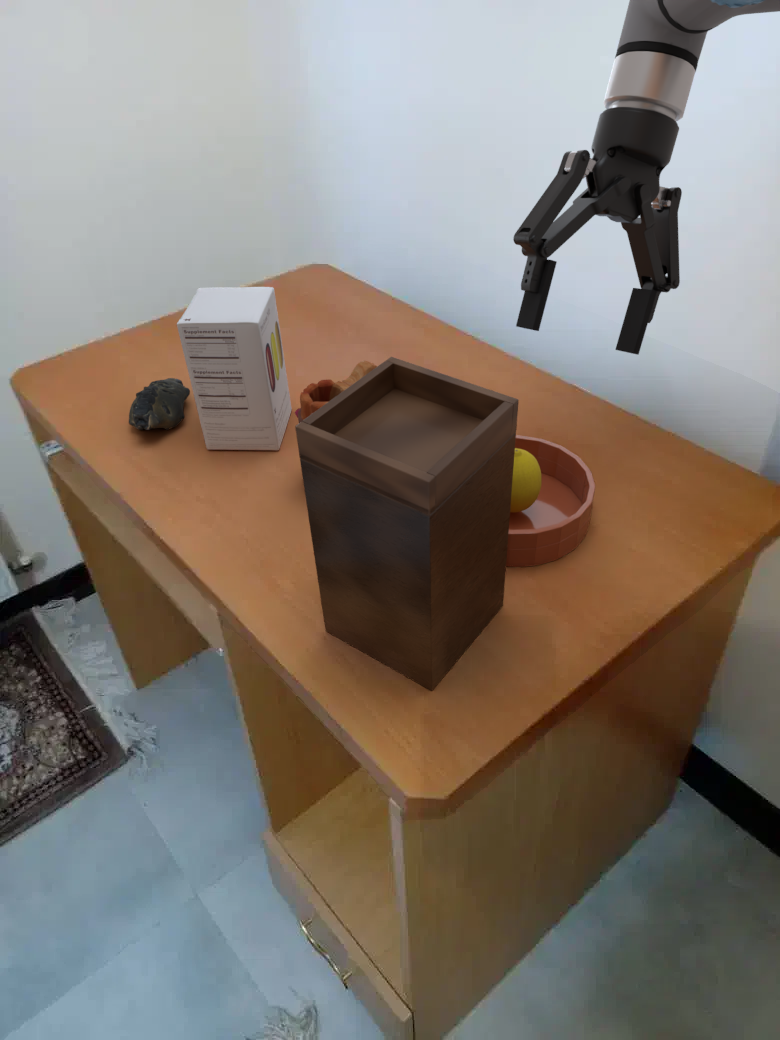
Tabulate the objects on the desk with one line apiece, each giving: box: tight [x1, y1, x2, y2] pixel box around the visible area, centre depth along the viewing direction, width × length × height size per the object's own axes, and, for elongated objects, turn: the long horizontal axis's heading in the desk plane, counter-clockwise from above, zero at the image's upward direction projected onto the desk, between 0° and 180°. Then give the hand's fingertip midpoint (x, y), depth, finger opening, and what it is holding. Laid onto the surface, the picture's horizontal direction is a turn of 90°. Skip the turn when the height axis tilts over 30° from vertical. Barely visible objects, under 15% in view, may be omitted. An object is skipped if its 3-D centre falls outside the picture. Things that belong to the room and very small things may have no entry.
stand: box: [299, 431, 517, 692], centre depth 67 cm, size 12×12×20 cm
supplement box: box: [176, 286, 293, 451], centre depth 93 cm, size 10×9×17 cm
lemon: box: [510, 448, 541, 512], centre depth 82 cm, size 6×6×8 cm
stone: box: [128, 377, 191, 431], centre depth 100 cm, size 7×13×5 cm, turn 177°
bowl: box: [506, 434, 596, 568], centre depth 83 cm, size 16×16×4 cm
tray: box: [294, 356, 520, 515], centre depth 60 cm, size 12×12×3 cm
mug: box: [294, 360, 378, 424], centre depth 87 cm, size 12×7×13 cm, turn 133°
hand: (578, 341), depth 80 cm, fingers open, 13 cm apart
